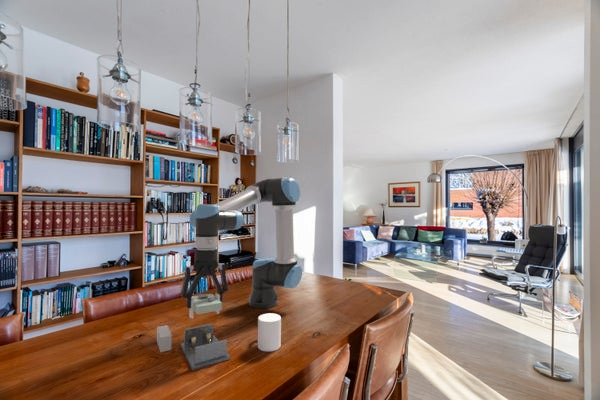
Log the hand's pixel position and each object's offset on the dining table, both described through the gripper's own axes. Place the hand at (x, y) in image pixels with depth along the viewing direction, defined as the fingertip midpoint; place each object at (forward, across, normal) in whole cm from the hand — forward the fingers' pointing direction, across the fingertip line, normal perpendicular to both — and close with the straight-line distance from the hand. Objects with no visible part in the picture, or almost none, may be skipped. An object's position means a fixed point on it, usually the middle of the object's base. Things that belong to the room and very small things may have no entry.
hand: (204, 314), depth 97 cm
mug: (+13, +21, -6) cm, 26 cm away
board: (-3, 0, 0) cm, 3 cm away
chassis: (+13, 0, 0) cm, 13 cm away
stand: (+13, -11, +13) cm, 21 cm away
